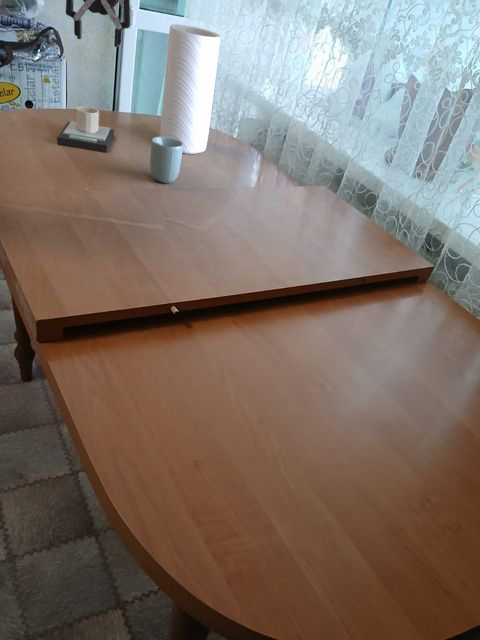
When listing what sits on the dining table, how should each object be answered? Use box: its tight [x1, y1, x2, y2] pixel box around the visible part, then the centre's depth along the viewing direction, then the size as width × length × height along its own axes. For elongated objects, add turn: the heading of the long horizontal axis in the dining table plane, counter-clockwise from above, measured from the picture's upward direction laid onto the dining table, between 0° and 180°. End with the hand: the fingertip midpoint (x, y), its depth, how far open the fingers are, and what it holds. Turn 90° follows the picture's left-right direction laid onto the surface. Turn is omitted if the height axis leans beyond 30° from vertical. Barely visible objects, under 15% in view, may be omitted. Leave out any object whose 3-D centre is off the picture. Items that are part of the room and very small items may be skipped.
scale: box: [56, 120, 115, 153], centre depth 154 cm, size 13×15×3 cm
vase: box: [159, 23, 221, 155], centre depth 158 cm, size 14×14×32 cm
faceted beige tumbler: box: [75, 105, 100, 133], centre depth 153 cm, size 6×6×6 cm
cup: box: [149, 135, 183, 184], centre depth 140 cm, size 8×8×10 cm
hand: (98, 42), depth 130 cm, fingers open, 8 cm apart
